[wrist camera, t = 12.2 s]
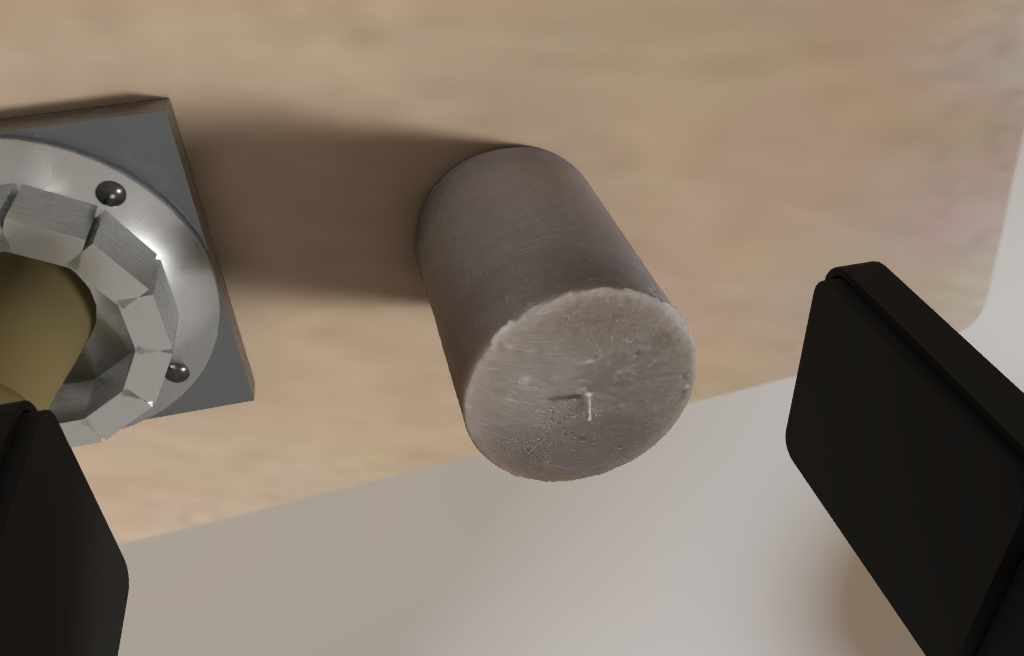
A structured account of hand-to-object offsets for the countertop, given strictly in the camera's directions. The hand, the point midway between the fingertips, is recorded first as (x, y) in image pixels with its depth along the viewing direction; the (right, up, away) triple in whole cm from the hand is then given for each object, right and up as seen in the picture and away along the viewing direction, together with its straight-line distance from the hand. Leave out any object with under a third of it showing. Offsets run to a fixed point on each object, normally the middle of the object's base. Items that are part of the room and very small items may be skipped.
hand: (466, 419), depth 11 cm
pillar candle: (0, +6, +34) cm, 34 cm away
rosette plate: (-22, +3, +30) cm, 37 cm away
